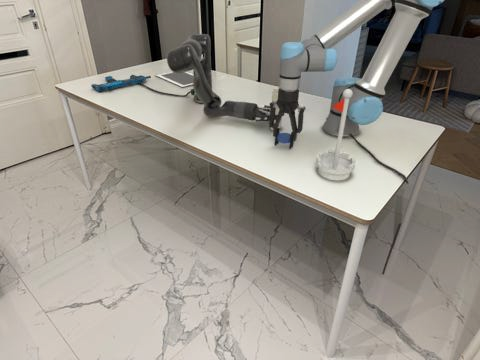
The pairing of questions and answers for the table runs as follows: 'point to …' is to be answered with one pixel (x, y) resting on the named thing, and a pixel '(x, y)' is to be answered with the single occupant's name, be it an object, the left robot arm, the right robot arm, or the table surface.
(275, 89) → the tube
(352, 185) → the table surface
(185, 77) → the tablet
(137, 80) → the submachine gun
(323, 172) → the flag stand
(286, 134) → the lid
